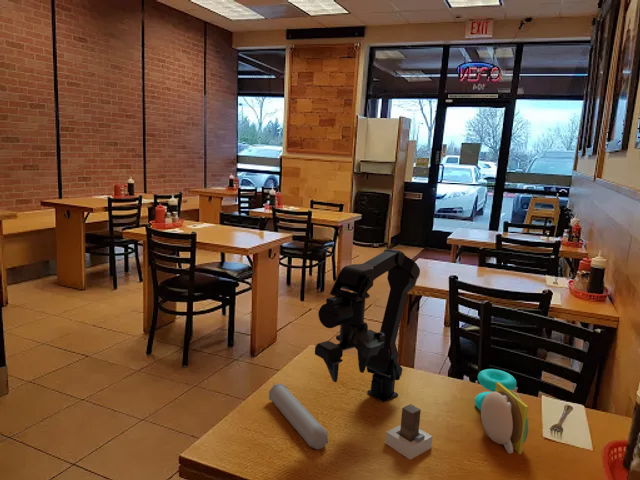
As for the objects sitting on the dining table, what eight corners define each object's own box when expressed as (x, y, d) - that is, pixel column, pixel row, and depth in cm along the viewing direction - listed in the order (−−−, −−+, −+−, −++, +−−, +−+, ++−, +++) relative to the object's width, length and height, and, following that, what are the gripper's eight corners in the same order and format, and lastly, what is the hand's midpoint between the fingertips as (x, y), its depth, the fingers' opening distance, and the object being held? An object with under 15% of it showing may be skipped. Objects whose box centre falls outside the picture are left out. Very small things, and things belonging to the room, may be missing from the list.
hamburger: (472, 426, 122) (477, 383, 120) (501, 424, 124) (507, 381, 122) (498, 455, 111) (504, 408, 109) (530, 453, 112) (537, 406, 110)
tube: (335, 432, 110) (288, 384, 131) (316, 431, 107) (272, 382, 128) (327, 454, 110) (282, 402, 131) (308, 453, 107) (265, 400, 129)
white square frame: (406, 432, 118) (407, 417, 117) (431, 447, 112) (432, 432, 112) (385, 443, 113) (386, 427, 112) (410, 459, 107) (411, 443, 107)
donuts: (517, 371, 133) (517, 387, 124) (512, 404, 134) (512, 422, 125) (479, 364, 136) (477, 378, 127) (475, 396, 138) (473, 413, 129)
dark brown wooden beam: (407, 438, 115) (410, 404, 113) (417, 444, 112) (420, 409, 111) (399, 442, 113) (402, 407, 111) (409, 449, 111) (412, 413, 109)
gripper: (346, 335, 105) (342, 401, 108) (402, 320, 117) (397, 379, 120) (315, 320, 114) (311, 381, 116) (370, 308, 125) (366, 363, 128)
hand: (348, 376), depth 120 cm, fingers open, 9 cm apart
